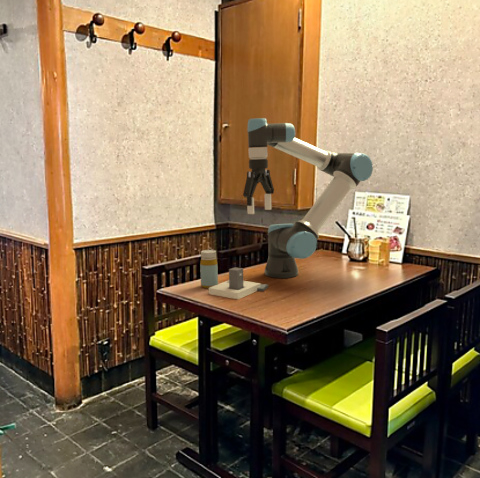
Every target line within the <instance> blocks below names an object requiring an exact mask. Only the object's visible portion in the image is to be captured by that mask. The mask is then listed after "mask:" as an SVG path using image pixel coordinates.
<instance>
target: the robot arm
mask: <svg viewBox="0 0 480 478" xmlns="http://www.w3.org/2000/svg"><path fill="white" fill-rule="evenodd" d="M247 141H248V142H247V143H248V144H247V145H248V158H249V159H248V168H249V169H250V170H251V171H247V172H246V180H245V185H244V189H243V192H242V193H243V194H242V196H243V197H244V198H246V207H247V208H246V209H247V214H248V215H255V198H254V193H255V191H256V188H257V186H258V184H259V183H260V184H261V186H262V188H263V190H264V210H268V211H270V210H272V195H273V194H274V192H275V188H274V185H273V180H272V177H271V172H270V171H271V170H270V169H268V167H269V163H268V161H269V159H268V157H269V154H268V146H269V147H272V148H274V149H276V150H278V151H280V152H284V153H285V154H288V155H290V156H292V157H294V158H297V159H299V160H301V161H304V162H306V163H308V164H310V165H314V167H315V166H316V168H317V170H319V171H322V172H323V173H325V174H328V175H330V176H331V177H332V180H331V181H330V183H329V184H328V186H326V187H325V189H324V190H323V192H322V193H321V194H320V196H319V197H318V198H317V199H316V201H315V202H314V203H313V205H312V206H311V208H309V210H308V211H307V213H306V214H305V215H304V217H303V218H302V219H301V220H297V221H295V223H278V224H277V223H275V224H270V225H269V226H268V230H267V234H268V235H267V241H268V258H267V262H266V264H265V267H264V276H266V277H269V278H275V279H289V278H294V277H296V276H299V268H298V265H297V262H296V259H300V260H302V259H304V260H305V259H307V258H309V257H311V256H312V255H313V254H314V253H315V251H316V249H317V244H318V239H319V237H320V235H319V232H320V230H321V229H322V228H323V226H324V225H325V223H326V222H327V221H328V219H329V218H331V216H332V214H333V213H334V212H335V210H337V207H339V205H340V204H341V202H342V201H343V200H344V199H345V197H346V196H347V194H348V193H349V192H350V191H351V190H354V189H356V188H357V187H358V185H359V184H360V183H361V182H365V181H366V180H368V179H370V177H371V176H372V174H373V170H374V167H373V165H374V164H373V162H372V161H373V160H372V159H371V158H370V156H369V155H367V154H366V153H363V152H354V153H353V152H352V153H350V152H334V151H331V150H328V149H325V150H323V149H321V148H319V147H317V146H314V145H313V144H310V143H309V142H306V141H303V140H301V139H299V138H297V137H296V129H295V126H294V125H293V124H292V123H290V122H289V123H288V122H280V123H278V122H277V123H268V122H267V118H265V117H261V118H260V117H258V118H257V117H256V118H249V119H248V122H247Z"/></svg>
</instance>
